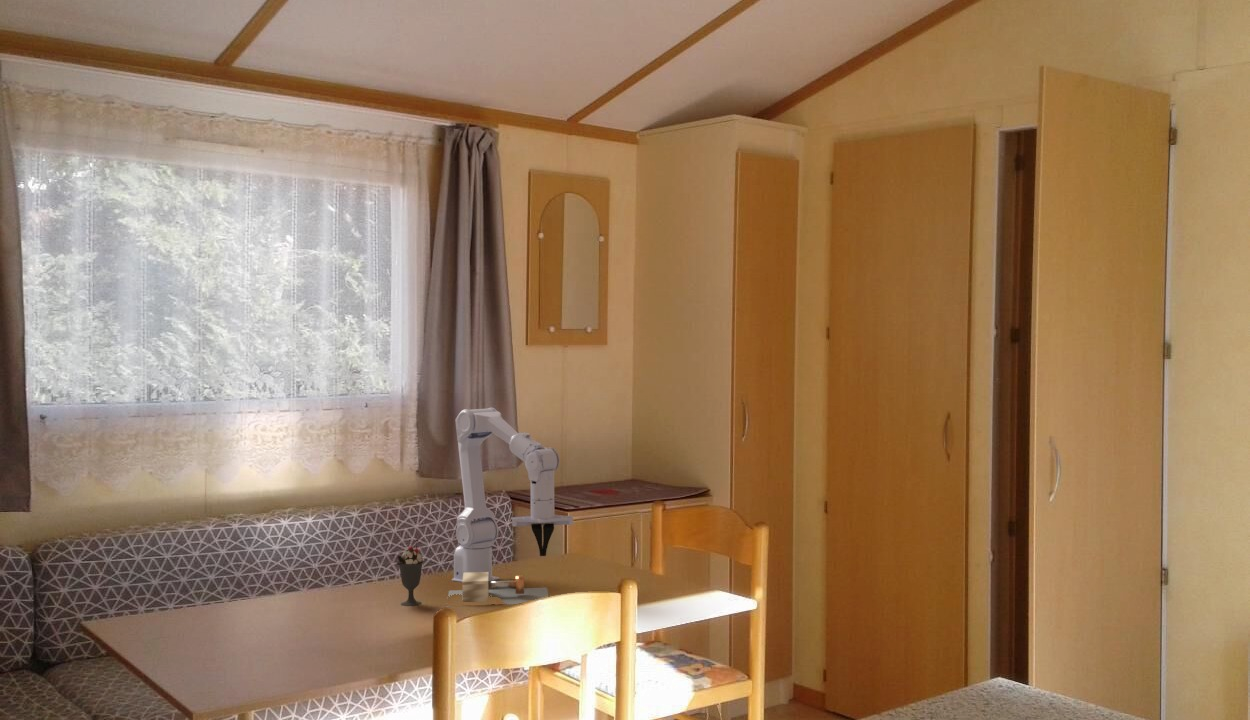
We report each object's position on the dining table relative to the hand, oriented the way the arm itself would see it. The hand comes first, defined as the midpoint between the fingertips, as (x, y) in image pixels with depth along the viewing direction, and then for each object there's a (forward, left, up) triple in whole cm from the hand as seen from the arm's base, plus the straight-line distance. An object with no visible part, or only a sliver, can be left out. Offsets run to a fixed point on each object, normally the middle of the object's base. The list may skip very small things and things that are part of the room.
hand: (542, 555), depth 271 cm
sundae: (-21, -23, -10) cm, 33 cm away
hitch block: (-12, -10, -10) cm, 19 cm away
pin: (-7, -6, -9) cm, 13 cm away
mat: (-8, -7, -10) cm, 15 cm away
